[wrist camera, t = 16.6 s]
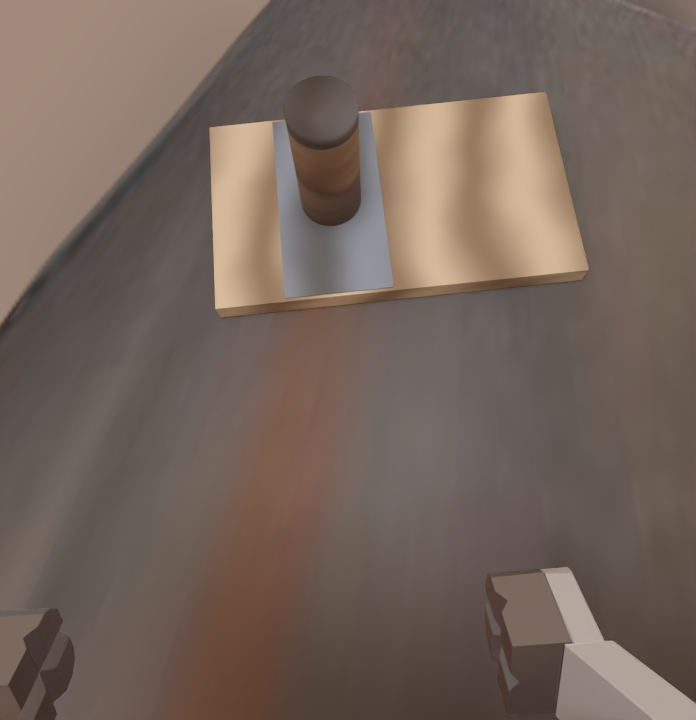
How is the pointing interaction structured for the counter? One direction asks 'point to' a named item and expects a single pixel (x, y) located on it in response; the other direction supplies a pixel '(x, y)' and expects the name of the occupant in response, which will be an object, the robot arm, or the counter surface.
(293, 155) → the peg
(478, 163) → the plywood board
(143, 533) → the counter surface
